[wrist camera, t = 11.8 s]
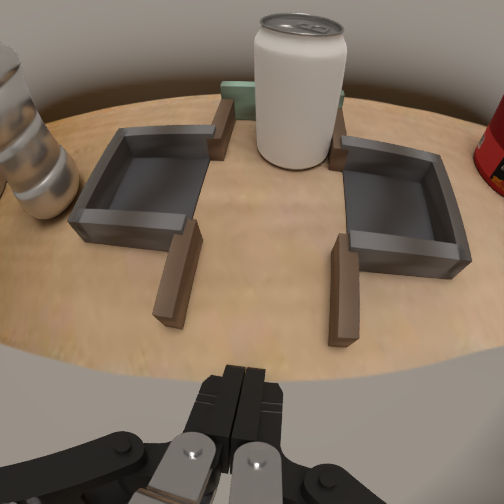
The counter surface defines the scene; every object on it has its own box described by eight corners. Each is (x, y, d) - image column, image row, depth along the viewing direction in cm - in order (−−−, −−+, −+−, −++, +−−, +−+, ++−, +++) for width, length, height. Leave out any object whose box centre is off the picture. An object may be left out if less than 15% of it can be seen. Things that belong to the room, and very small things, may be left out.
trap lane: (63, 303, 19) (32, 281, 15) (149, 115, 29) (140, 86, 25) (457, 347, 16) (492, 331, 13) (413, 137, 26) (425, 108, 23)
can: (274, 119, 27) (275, 8, 17) (336, 138, 26) (357, 23, 15) (243, 158, 25) (235, 27, 14) (315, 182, 23) (338, 44, 13)
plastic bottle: (93, 167, 25) (15, -10, 8) (78, 223, 22) (-41, 22, 5) (45, 181, 25) (-39, 31, 8) (27, 234, 22) (-90, 75, 4)
